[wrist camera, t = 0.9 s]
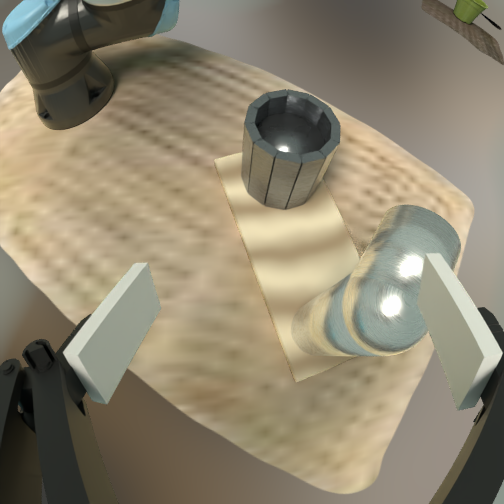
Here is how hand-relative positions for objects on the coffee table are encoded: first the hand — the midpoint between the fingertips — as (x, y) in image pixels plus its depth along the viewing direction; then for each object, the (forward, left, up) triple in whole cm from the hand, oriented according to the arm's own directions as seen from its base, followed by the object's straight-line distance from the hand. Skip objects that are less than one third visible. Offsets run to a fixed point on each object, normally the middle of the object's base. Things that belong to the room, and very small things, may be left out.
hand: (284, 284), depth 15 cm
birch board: (-7, +9, -24) cm, 27 cm away
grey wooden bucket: (-17, +10, -23) cm, 30 cm away
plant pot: (-65, +101, -25) cm, 122 cm away
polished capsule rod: (+2, +8, -23) cm, 24 cm away
